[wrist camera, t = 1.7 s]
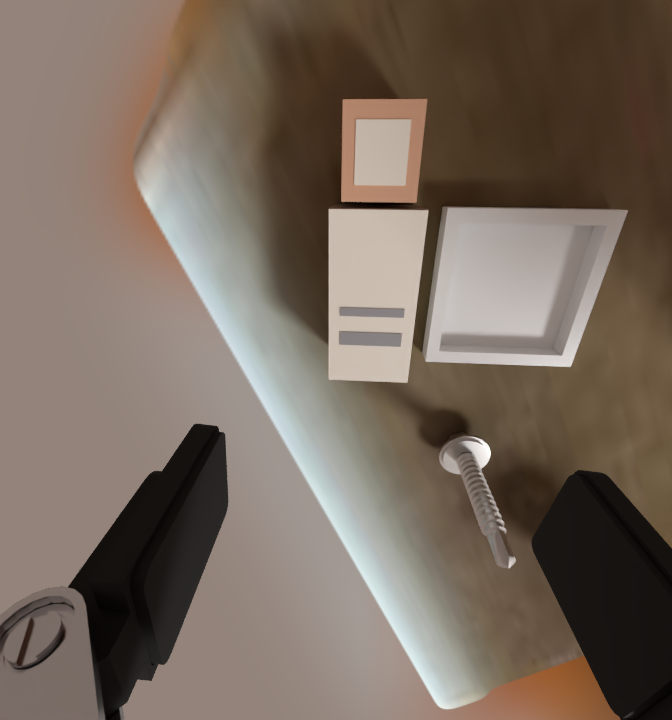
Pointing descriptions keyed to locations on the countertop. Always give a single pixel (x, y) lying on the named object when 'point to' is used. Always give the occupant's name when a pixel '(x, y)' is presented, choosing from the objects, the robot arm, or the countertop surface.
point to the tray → (516, 283)
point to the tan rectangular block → (382, 149)
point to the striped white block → (373, 289)
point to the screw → (478, 489)
